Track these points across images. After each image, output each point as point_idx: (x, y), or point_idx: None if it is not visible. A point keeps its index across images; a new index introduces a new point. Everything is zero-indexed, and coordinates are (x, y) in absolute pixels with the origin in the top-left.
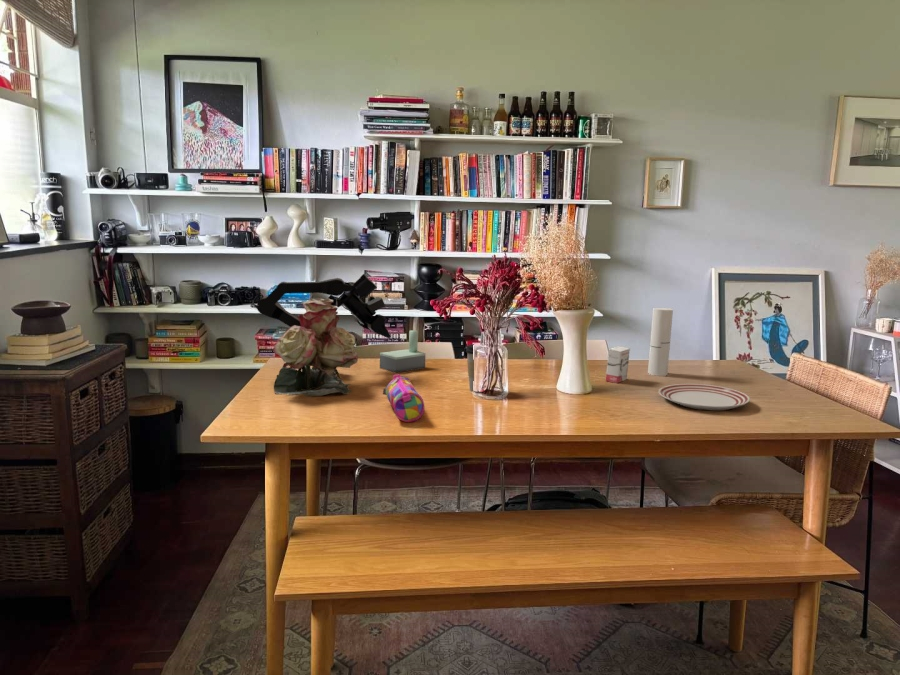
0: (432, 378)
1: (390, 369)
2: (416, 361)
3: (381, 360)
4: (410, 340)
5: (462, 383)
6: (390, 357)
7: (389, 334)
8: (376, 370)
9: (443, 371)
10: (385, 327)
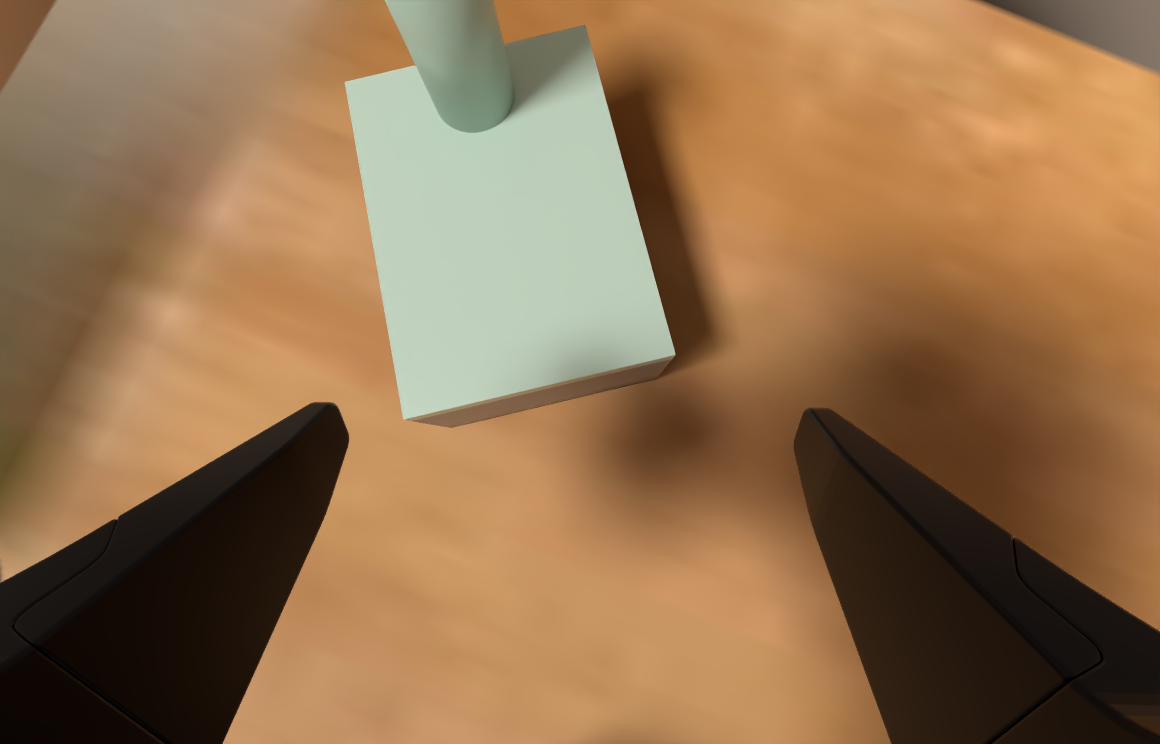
0: (908, 198)
1: (593, 392)
2: None
3: (455, 418)
4: (455, 33)
5: (1106, 75)
6: (589, 377)
7: (868, 437)
8: (520, 484)
9: (727, 48)
10: (1135, 624)
